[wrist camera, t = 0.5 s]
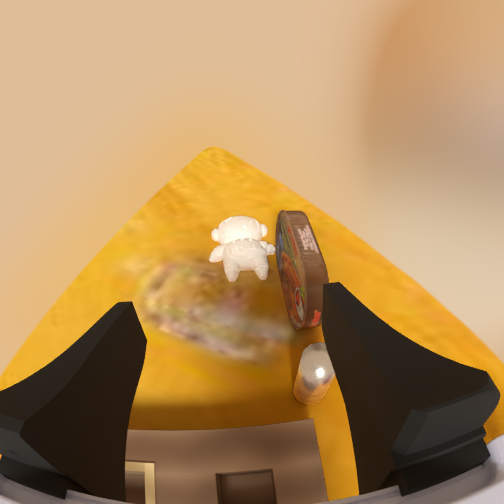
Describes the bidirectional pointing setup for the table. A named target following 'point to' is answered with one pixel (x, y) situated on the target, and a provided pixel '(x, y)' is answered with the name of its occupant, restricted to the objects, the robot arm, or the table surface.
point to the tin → (300, 269)
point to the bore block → (225, 465)
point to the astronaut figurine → (242, 247)
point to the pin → (313, 375)
